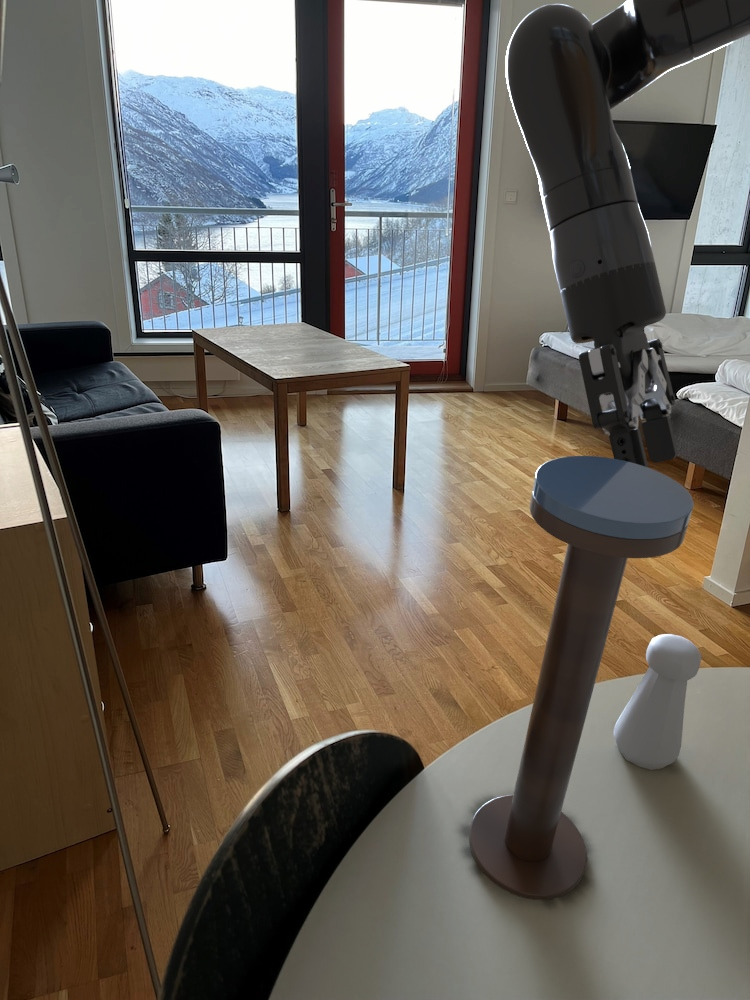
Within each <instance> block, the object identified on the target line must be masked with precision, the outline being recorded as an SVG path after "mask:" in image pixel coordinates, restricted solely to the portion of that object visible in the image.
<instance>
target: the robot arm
mask: <svg viewBox="0 0 750 1000" xmlns="http://www.w3.org/2000/svg"><path fill="white" fill-rule="evenodd" d="M511 35H512V36H511V38H510V40H509V43H508V45H507V50H506V55H505V78H506V84H507V90H508V92H509V97H510V101H511V103H512V107H513V110H514V114H515V116H516V119H517V123H518V125H519V127H520V130H521V133H522V135H523V136H522V137H523V138H524V141H525V144H526V147H527V150H528V151H529V155H530V157H531V159H532V162H533V165H534V168H535V172H536V176H537V178H538V179H537V180H538V185H539V192H540V196H541V202H542V206H543V210H544V215H545V219H546V223H547V228H548V232H549V238H550V243H551V244H550V245H551V255H552V262H553V267H554V272H555V275H556V282H557V285H558V289H559V293H560V298H561V302H562V306H563V310H564V315H565V320H566V323H567V327H568V331H569V336H570V339H571V341H572V342H573V343H575V344H585V343H591V342H593V348H591V349H588V350H585V351H582V352H581V351H580V352H579V354H578V362H579V365H580V371H581V375H582V381H583V383H584V385H583V386H584V389H585V395H586V398H587V399H586V400H587V403H588V409H589V413H590V417H591V424H592V427H593V428H594V429H595V430H600V429H602V431H603V433H604V434H605V436H606V435H607V436H608V438H609V442H610V447H611V450H612V455H613V459H618V460H623V461H627V462H631V463H635V464H638V465H642V466H645V467H647V468H649V464H648V460H647V456H646V450H647V455H648V458H649V461H650V462H651V463H654V464H655V463H662V462H666V461H671V460H673V459H675V458H676V457H678V449H677V446H676V442H675V436H674V432H673V428H672V423H671V419H670V416H669V415H671V414H672V406H674V405H675V404H676V396H675V394H674V391H673V386H672V381H671V378H670V374H669V370H668V366H667V362H666V358H665V353H664V349H663V342H662V341H661V340H660V338H655V339H652V340H648V337H647V334H646V333H645V328H646V327H647V326H650V325H654V324H657V323H659V322H661V321H662V320H664V318H665V317H666V315H667V309H666V307H665V306H666V305H665V301H664V297H663V291H662V289H661V288H662V287H661V283H660V279H659V274H658V269H657V265H656V260H655V257H654V251H653V248H652V243H651V239H650V235H649V231H648V227H647V225H646V222H645V220H644V217H643V214H642V212H641V209H640V205H639V202H638V197H637V193H636V188H635V184H634V179H633V174H632V171H631V166H630V162H629V159H628V155H627V153H626V150H625V147H624V145H623V142H622V140H621V138H620V136H619V135H618V133H617V130H616V128H615V125H614V122H613V121H614V120H613V116H612V111H611V110H612V109H614V108H615V107H617V106H619V105H620V104H622V103H623V102H625V101H626V100H629V98H631V97H633V96H635V95H636V94H637V93H638V92H640V91H642V90H643V89H645V88H646V87H647V86H650V84H652V83H653V82H654V81H656V80H657V79H659V78H660V77H662V76H663V75H664V74H666V73H667V72H669V71H671V70H673V69H675V68H679V67H680V66H684V65H686V64H689V63H691V62H693V61H694V60H697V59H700V58H702V57H704V56H706V55H708V54H710V53H713V52H715V51H717V50H719V49H721V48H723V47H725V46H728V45H730V44H732V43H735V42H736V41H739V40H741V39H743V38H745V37H748V36H749V35H750V0H626V1H625V2H623V4H621V5H620V6H618V7H617V8H616V9H614V10H612V11H611V12H609V13H608V14H606V15H604V16H603V17H601V18H600V19H598V20H597V21H595V22H594V23H592V22H591V21H590V19H589V18H587V16H586V15H585V14H584V13H582V12H581V11H580V10H578V9H577V8H575V7H573V6H570V5H567V4H562V3H552V4H546V5H542V6H540V7H537V8H536V9H534V10H532V11H531V12H529V13H528V14H527V15H526V16H525V17H524V18H523V19H522V20H521V21H520V22H519V23H518V25H517V27H516V28H515V30H514V31H513V34H511ZM639 419H640V420H641V422H640V424H641V429H642V432H643V436H644V441H645V446H646V450H645V447H644V443H643V439H642V434H641V430H640V428H639V421H640V420H639Z"/></svg>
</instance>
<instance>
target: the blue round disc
mask: <svg viewBox="0 0 750 1000" xmlns="http://www.w3.org/2000/svg"><path fill="white" fill-rule="evenodd" d="M534 475H535V476H534V480H533V486H532V491H533V493H534V496H535V498H536V500H537V502H538V503H539V504H540V505H541V506H542V507H543V508H544V509H545V510H546V511H548V512H549V513H550V514H552V515H553V516H555V517H557V518H558V519H560V520H562V521H564V522H566V523H568V524H571V525H573V526H575V527H578V528H581V529H584V530H587V531H590V532H594V533H597V534H602V535H606V536H612V537H617V538H626V539H658V538H664V537H668V536H671V535H675V534H677V533H679V532H681V531H682V530H683V529H685V527H686V526H687V525H688V526H689V524H688V523H690V521H691V516H692V513H693V510H694V500H693V496H692V495H691V494H690V492H689V490H687V488H686V487H684V486H683V485H682V484H681V483H679V482H678V481H676V480H675V479H673V478H671V477H670V476H668V475H666V474H664V473H662V472H660V471H658V470H655V469H652V468H650V467H648V468H647V467H645V466H642V465H638V464H635V463H631V462H627V461H623V460H618V459H614V457H613V458H611V457H606V456H596V455H595V456H594V455H569V456H563V457H562V456H561V457H557V458H553V459H550V460H548V461H546V462H544V463H543V464H541V465H540V466H539V467H538V468H537V470H536V472H535V474H534Z"/></svg>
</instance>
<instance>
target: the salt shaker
mask: <svg viewBox="0 0 750 1000" xmlns="http://www.w3.org/2000/svg"><path fill="white" fill-rule="evenodd" d="M645 659H646V663H647V665H648V668H647V670H646V672H645V673H644V675H643V677H642V679H641V680H640V682H639V683H638V686H637V687H636V689H635V691H634V692H633V694H632V696H631V698H630V699H629V701H628V702H627V704H626V706H625V707H624V709H623V710H622V712H621V714H620V716H619V717H618V719H617V720H616V723H615V724H614V727H613V738H614V741H615V743H616V745H617V748H618V751H619V752H620V753H621V755H622V756H623V758H624V759H625V760H626V761H628V762H630V763H631V764H634V765H635V766H637V767H640V768H644V769H647V770H649V771H653V770H662V769H664V768H665V767H667V766H670V765H672V764H673V763H674V762H675V761H676V760H677V759H678V757H679V755H680V751H681V748H682V741H683V728H684V717H685V704H686V696H687V695H686V694H687V687H688V681H690V680H691V679H693V678H695V677H696V676H697V674H698V672H699V669H700V666H701V663H702V653H701V652H700V650H699V647H697V645H695V644H694V643H693V642H692V641H691V640H690V639H687V638H686V637H683V636H682V635H677V634H673V633H662V634H659V635H657V636H655V637H653V638H651V640H650V642H649V644H648V646H647V648H646V652H645Z"/></svg>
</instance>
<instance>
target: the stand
mask: <svg viewBox="0 0 750 1000" xmlns="http://www.w3.org/2000/svg"><path fill="white" fill-rule="evenodd" d="M529 513H530V515H531V517H532V519H533V520H534V522H535V523H536V524H537V526H539V527H540V528H541V529H542V530H543V531H544V532H546V533H548V534H549V535H551V536H552V537H553V538H555V539H557V540H558V541H561V542H563V543H565V544H567V546H566V550H565V555H564V560H563V564H562V569H561V573H560V579H559V584H558V588H557V593H556V597H555V600H554V601H555V603H554V606H553V612H552V616H551V619H550V625H549V629H548V634H547V639H546V644H545V648H544V652H543V657H542V661H541V667H540V671H539V676H538V679H537V684H536V689H535V693H534V699H533V702H532V708H531V712H530V716H529V722H528V726H527V731H526V735H525V740H524V744H523V749H522V752H521V758H520V764H519V766H518V770H517V771H518V772H517V775H516V780H515V786H514V791H513V794H507V795H501V796H498V797H495V798H493V799H491V800H489V801H487V802H485V803H484V804H483V805H482V806H481V807H480V808H479V809H477V811H476V812H475V814H474V816H473V817H472V819H471V823H470V827H469V832H468V833H469V834H468V841H469V848H470V851H471V854H472V857H473V860H474V861H475V863H476V865H477V866H478V868H479V869H480V870H481V871H482V873H483V874H484V875H485V876H486V877H487V879H489V880H490V881H491V882H492V883H494V884H495V885H496V886H498V887H499V888H501V889H502V890H504V891H506V892H508V893H510V894H511V895H514V896H518V897H520V898H524V899H528V900H535V901H544V900H545V901H546V900H553V899H557V898H560V897H563V896H565V895H567V894H568V893H571V891H573V890H574V889H575V888H576V887H577V886H578V885H579V884H580V882H581V881H582V878H583V877H584V874H585V871H586V867H587V861H588V853H587V848H586V845H585V841H584V838H583V836H582V834H581V833H580V831H579V829H578V827H577V826H576V825H575V824H574V822H573V821H572V820H571V819H570V817H568V816H567V814H565V813H563V811H562V810H563V806H564V803H565V798H566V794H567V791H568V787H569V783H570V779H571V776H572V773H573V772H572V771H573V768H574V764H575V761H576V756H577V753H578V749H579V745H580V742H581V737H582V733H583V730H584V726H585V723H586V718H587V715H588V711H589V707H590V703H591V699H592V696H593V692H594V688H595V684H596V681H597V676H598V672H599V670H600V666H601V662H602V659H603V657H602V656H603V654H604V650H605V646H606V642H607V639H608V634H609V631H610V627H611V623H612V619H613V616H614V612H615V609H616V605H617V600H618V596H619V593H620V590H621V585H622V582H623V577H624V574H625V571H626V566H627V562H628V559H649V558H656V557H657V558H658V557H662V556H665V555H668V554H671V553H672V552H675V551H676V550H677V549H678V548H680V547H681V545H682V544H683V543H684V540H685V537H686V533H687V530H688V527H689V523H690V522H689V523H688V525H687V526H686V527H685V529H683V530H682V531H681V532H679V533H677V534H675V535H671V536H668V537H664V538H658V539H626V538H617V537H612V536H606V535H602V534H597V533H594V532H590V531H587V530H584V529H581V528H578V527H575V526H573V525H571V524H568V523H566V522H564V521H562V520H560V519H558V518H557V517H555V516H553V515H552V514H550V513H549V512H548V511H546V510H545V509H544V508H543V507H542V506H541V505H540V504H539V503H538V502H537V500H536V498H535V496H534V493H533V490H532V491H531V498H530V502H529Z"/></svg>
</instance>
